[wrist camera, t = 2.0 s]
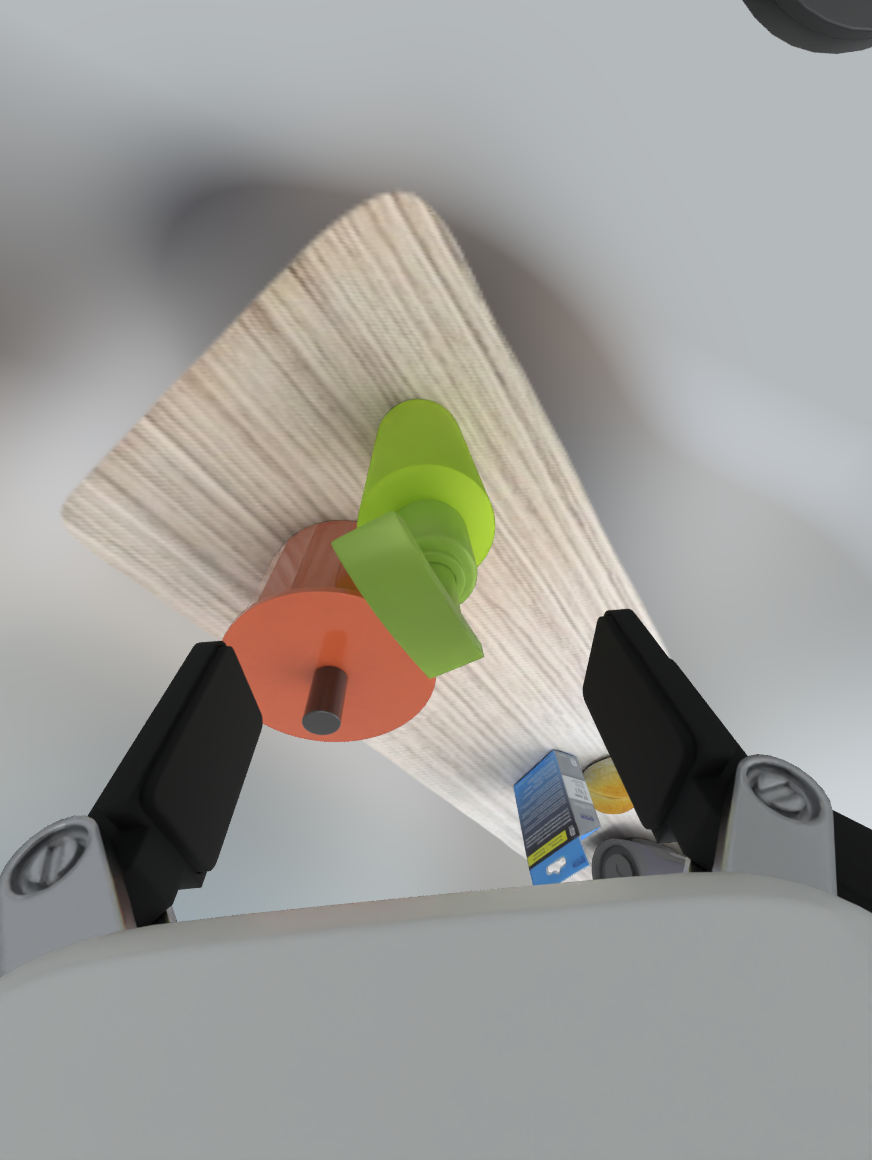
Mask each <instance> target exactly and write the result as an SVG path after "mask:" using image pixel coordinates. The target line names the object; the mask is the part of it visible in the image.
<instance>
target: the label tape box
mask: <svg viewBox="0 0 872 1160" xmlns="http://www.w3.org/2000/svg"><path fill="white" fill-rule="evenodd" d="M514 792H515V798H516V803H517V808H518V814H519V819H520V825H521V830H522V835H523V840H524V846H525V851H526V856H527V861H528V866H529V871H530V875H531V879H532V883H533V885H544V884H555V883H561V882H563V881H565V880H566V879H568V878H569V877H571V876H573V875H574V874H576V873H577V872H579V871H581V870H583V869H585V868H586V867H588V866H591V863H590V861H589V859H588V857H587V854H586V851H585V849H584V846H583V844H582V840H583V839H585V838H586V837H587V836H589V835H590V834H592V833H593V832H594V831H596V830H597V829H599V828H600V827H601V825H600V822H599V819H598V817H597V814H596V811H595V808H594V805H593V802H592V799H591V797H590V794H589V791H588V788H587V785H586V782H585V779H584V777H583V774H582V771H581V768H580V765H579V762H578V759H577V758H576V757H574V756H572V755H569V754H566V753H563V752H559V751H555V750H553V751H552V752H550V753H549V754H548V755H547V756H546V757H545V758H544V759H543V760H542V761H541V762H540V763H539V764H538V765H537V766H536V767H535V768H534V769H532V770H531V771H530V772H529V773H528V774H527V775H526V776H525V777H524V778H523V779H521V780H520V781H519V782H518V783H517V784H516V785H515V786H514ZM563 857H564V858H565V859H566V864H564V865H563V866H561V867H560V872H557V871H553V872H552V873H549V871H548V867H549V866H550V865H552V864H553V863H555V862H556V861H558V860H560V859H561V858H563Z"/></svg>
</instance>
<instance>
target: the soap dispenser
mask: <svg viewBox="0 0 872 1160" xmlns="http://www.w3.org/2000/svg"><path fill="white" fill-rule="evenodd" d="M494 534H495V517H494V512H493V508H492V505H491V502H490V500H489V498H488V495H487V493H486V490H485V488H484V486H483V483H482V481H481V479H480V476H479V474H478V471H477V469H476V467H475V464H474V462H473V459H472V457H471V455H470V452H469V450H468V448H467V445H466V443H465V440H464V438H463V436H462V433H461V431H460V428H459V426H458V424H457V422H456V420H455V419H454V417H453V416H452V415H451V413H450V412H449V411H448V410H446V409H445V408H444V407H442V406H441V405H439V404H437V403H435V402H432V401H429V400H423V399H414V400H409V401H405V402H403V403H400V404H398V405H397V406H395V407H394V408H392V409H391V410H390V411H389V412H388V413H387V414H386V415H385V417H384V418H383V420H382V422H381V424H380V426H379V428H378V432H377V436H376V440H375V445H374V449H373V453H372V458H371V462H370V466H369V471H368V475H367V479H366V484H365V488H364V492H363V497H362V501H361V505H360V510H359V514H358V520H357V528H356V529H354V530H352V531H350V532H349V533H347V534H345V535H343V536H341V537H339V538H337V539H335V540H334V541H333V542H332V543H331V545H332V547H333V549H334V551H335V553H336V554H337V556H338V558H339V560H340V561H341V563H342V564H343V566H344V568H345V569H346V571H347V572H348V574H349V576H350V577H351V579H352V580H353V582H354V584H355V585H356V587H357V588H358V590H359V591H360V593H361V594H362V596H363V597H364V599H365V600H366V602H367V603H368V605H369V606H370V607H371V609H372V610H373V612H374V613H375V614H376V616H377V617H378V618H379V620H380V621H381V622H382V624H383V625H384V626H385V628H386V629H387V630H388V631H389V633H390V634H391V635H392V636H393V638H394V639H395V640H396V641H397V642H398V644H399V645H400V646H401V647H402V648H403V649H404V651H405V652H406V653H407V654H408V655H409V656H410V658H411V659H412V660H413V661H414V662H415V663H416V664H417V666H418V667H419V668H420V669H421V670H422V671H423V672H424V673H425V675H426V676H427V677H428V678H429V679H431V678H434V677H436V676H439V675H441V674H444V673H446V672H449V671H451V670H454V669H456V668H458V667H461V666H463V665H466V664H468V663H471V662H473V661H476V660H478V659H481V658H483V657H484V654H483V650H482V645H481V643H480V642H479V640H478V638H477V637H476V635H475V634H474V632H473V631H472V629H471V628H470V626H469V625H468V623H467V622H466V620H465V619H464V617H463V616H462V614H461V610H460V604H461V603H463V602H464V601H465V600H466V599H467V598H468V597H469V595H470V594H471V593H472V591H473V589H474V587H475V584H476V580H477V567H478V566H479V565H480V564H481V562H482V561H483V560H484V558H485V557H486V555H487V554H488V552H489V550H490V548H491V545H492V542H493V539H494Z"/></svg>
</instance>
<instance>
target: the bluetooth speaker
mask: <svg viewBox="0 0 872 1160" xmlns="http://www.w3.org/2000/svg"><path fill="white" fill-rule="evenodd" d="M685 861H686V857H684V856H682V855H679V854H677V853H675V852H674V851H673V850H672V849H671V848H669V847H667V846H664V845H661V844H658V843H655V842H652V841H649V840H645V839H641V838H632V839H630V840H623V839H608V840H606V841H604V842H602V843H601V844H600V845H599V846H598V847H597V848H596V850H595V852H594V855H593V859H592V877H593V880H598V879H608V878H621V877H634V876H648V875H662V874H675V873H683V870H684V865H685Z"/></svg>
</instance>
